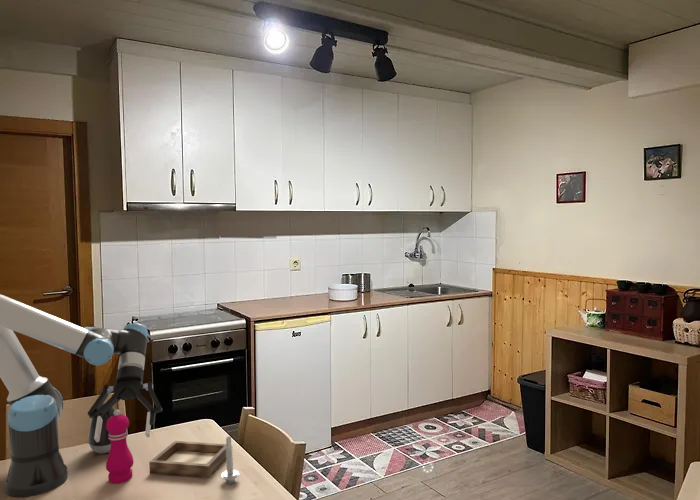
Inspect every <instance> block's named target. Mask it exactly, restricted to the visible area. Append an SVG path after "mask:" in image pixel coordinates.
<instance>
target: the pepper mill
mask: <svg viewBox="0 0 700 500" xmlns="http://www.w3.org/2000/svg"><path fill="white" fill-rule="evenodd" d="M129 426H130V420H129V417H127V415H125V414H121V410H119V409H115V411H114V415H113V416H111V417H110V418H109V419H108V420H107V422H106V429H107V431H108V432H110V433H109V434H108V435H109V439H110V441H111V448H110V452H109V453H108V455H107V457H106V461H105V469H106V471H107V472H108V482H109V483H110V484H113V485H114V484H116V485H118V484H122V483H126V482H128V481H130V480H131V479H132V478H133V469H132V467H133V466H134V456H133V454H132V452H131V450H130V449H129V447H128V443H127V437H128V435H129V433H128V428H129Z"/></svg>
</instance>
